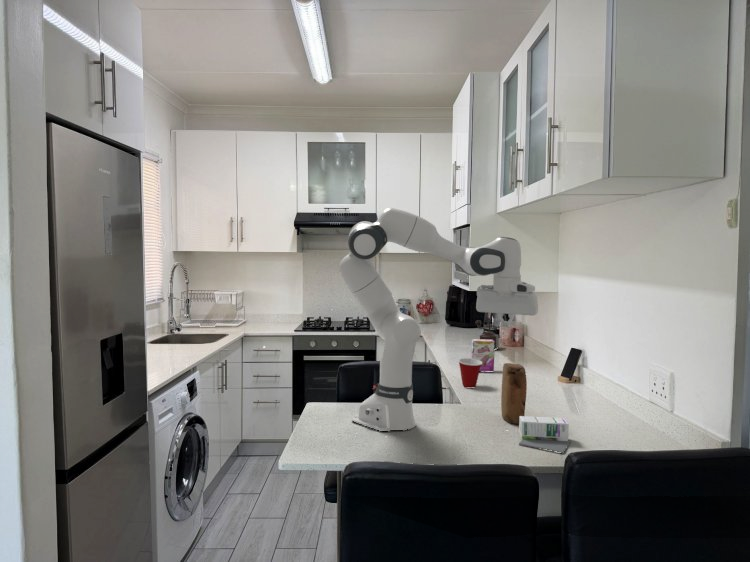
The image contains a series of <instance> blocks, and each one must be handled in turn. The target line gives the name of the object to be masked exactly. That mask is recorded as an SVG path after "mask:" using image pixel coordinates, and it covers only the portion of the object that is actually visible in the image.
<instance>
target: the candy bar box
mask: <svg viewBox="0 0 750 562" xmlns="http://www.w3.org/2000/svg"><path fill="white" fill-rule="evenodd" d="M494 349H495V341H494V340H481V339H480V338H479V339H476V338H475V339H474V338H473V339H471V355H470V358H471V359H476V360H479V361H481V362H482V365H481V367H480V370H479V371H494V372H495V351H494Z"/></svg>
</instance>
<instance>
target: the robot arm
mask: <svg viewBox="0 0 750 562" xmlns="http://www.w3.org/2000/svg"><path fill="white" fill-rule="evenodd" d="M377 218H378V219H377V220H376V221H375V222H373V221H370V220H368V219H367V220H365V219H364V220H360V221H358V222H356V223H354V225H353V226H352V227H351V229H350V231H349V233H348V238H347V240H348V242H347V245H348V250H350V252H348V254H347V255H345V256H344V257H343V258H342V259H341V260H340V262H339V267H338V268H339V272H340V275H341V276H342V279H343V281H344V282H345V284H346V286H347V288H348V289H349V290H350V292H351V293H352V295H353V296H354V298H355V299H356V301H357V302H358V304H359V305H360V306H361V308H362V310H364V313H365V314H366V316H367V317H368V320H369V322H370V323H371V325H372V327H373V328H374V330H375V332H376V333H377V335H378V336H379V338H380V339H381V340H383V341H384V348H383V352H382V357H381V358H380V361H379V382H378V383H375V385H373V386H372V387H373V388H372V390H375V391H374V393H373V394H371V395H370V396H369V397H368V398H366V399H364V401H362V402H361V404H360V405H359V408H358V413H357V414H355V415H353V416H352V418H351V422H352V421H354V422H357V423H360V424H363V425H366V426H369V427H372V428H374V429H377V430H379V431H378V432H380V431H388V432H391V431H390V430H403V431H407V429H408V430H411V429H414V428H415V427H416V426H417V423H416V420H415V416H414V411H413V410H414V408H413V398H414V397H413V395H414V390H413V389H414V387H413V386H414V385H413V382H412V380H413V377H412V375H413V359H414V354H415V349H416V345H417V343H418V342H419V340H420V338H421V330H422V329H421V326H420V325H419V322H417V320H416V319H414V318H413V317H412V316H411V315H408V314H405V313H403V312H402V311H400V309H399V308H398V306H397V304H396V302H395V300H394V298H393V295H392V294H393V293H392V291H391V290H390V288H389V287H388V285H387V284H386V282H385V281H384V279H383V277H382V276H381V275H380V274H379V272H378V271H377V268H375V266H374V265H373V262H372V259H373V258H375V256H377V255H378V254H379V253H380V252H381V251H382V250H383V248H384V247H385V246H386V244H387V243H389V242H390V243H393V244H397V245H399V246H401V247H403V248H406V249H408V250H412V251H415V252H419V253H424V254H425V253H426V254H432V255H435V256H438V257H440V258H442V259H445V260H447V261H450V262H452V263H454V264H455V265H457V267H458V268H459V269H460V270H461V271H462V273H465V274H466V275H468V276H471V277H474V276H479V277H485V276H489V275H493V276H492V277H493V283H492V284H493V285H489V284H488V285H485V284H482V285H480V286H478V287H477V288H476V296H477V298H476V304H475V305H476V306H475V309H476V311H477V312H479V313H490V314H491V313H492V314H497V318H498V320H499V321H500V327H501V328H511V327H512V321H513V320H514V318H515V315H520V316H535V315H537V314H538V312H539V304H538V302H539V301H538V297H537V294H536V293H534V292H535V291H536V286H535V285H534V284H531V283H527V282H524V281H522V280H521V278H522V277H521V272H520V271H521V266H522V250H521V248H522V247H521V245H520V244H521V243H520V242H519V240H517V239H516V238H512V237H505V236H498V237H496V238H495V239H494V240H493V241H491V242H488V243H486V244H484V245H481V246H478V247H475V246H474V247H473V246H471V247H470V246H469V247H465V246H461V245H459V244H458V243H455V242H452V241H451V240H448V239H446V238H445V237H443V236H441V234H439V232H438V230H437V228H436V225H434V224H433V223H432V222H430V221H428V220H426V219H425V218H423V217H422V216H419V215H417V214H414V213H412V212H409V211H407V210H406V211H405V210H402V209H398V208H395V207H388V208H385V209H384V210H382V212H381V213H380V215H379V216H378V217H377ZM504 315H508V318H509V319H508V321H505V320H504ZM374 429H373V430H374ZM377 430H376V431H377Z"/></svg>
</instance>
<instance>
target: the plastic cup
mask: <svg viewBox="0 0 750 562" xmlns="http://www.w3.org/2000/svg"><path fill="white" fill-rule="evenodd" d="M458 363H459V369H460V376H461V382H462V383H461V384H462V387H463V386H464V388H465V387H475V388H476V387H477V383H478V378H479V373H480V372H479V370H480V367H481V365H482V362H481V361H479V360H476V359H471V357H470V358H469V357H465V358H463V357H462V358H459V359H458Z"/></svg>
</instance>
